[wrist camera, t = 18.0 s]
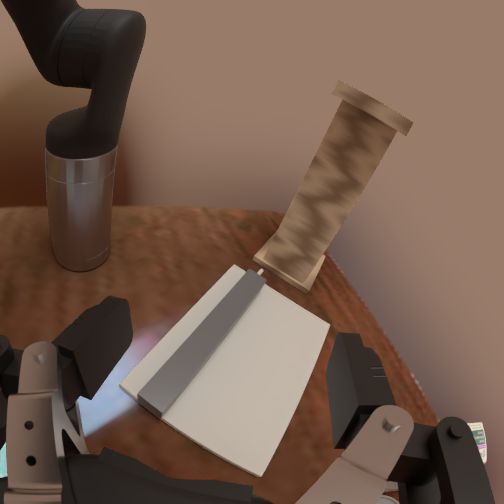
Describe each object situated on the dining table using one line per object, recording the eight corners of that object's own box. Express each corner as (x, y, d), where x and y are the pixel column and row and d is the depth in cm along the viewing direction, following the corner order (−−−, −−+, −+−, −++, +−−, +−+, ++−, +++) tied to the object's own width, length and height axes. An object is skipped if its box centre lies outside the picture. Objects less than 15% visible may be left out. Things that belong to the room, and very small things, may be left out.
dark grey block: (160, 419, 25) (137, 401, 25) (264, 286, 45) (248, 275, 45) (162, 412, 23) (137, 393, 23) (271, 273, 43) (254, 262, 43)
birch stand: (245, 267, 48) (334, 78, 28) (278, 230, 59) (349, 86, 40) (302, 303, 46) (417, 124, 26) (324, 258, 58) (407, 120, 38)
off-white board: (119, 386, 26) (119, 383, 26) (232, 268, 47) (234, 264, 46) (258, 477, 24) (261, 476, 23) (326, 328, 44) (330, 324, 43)
